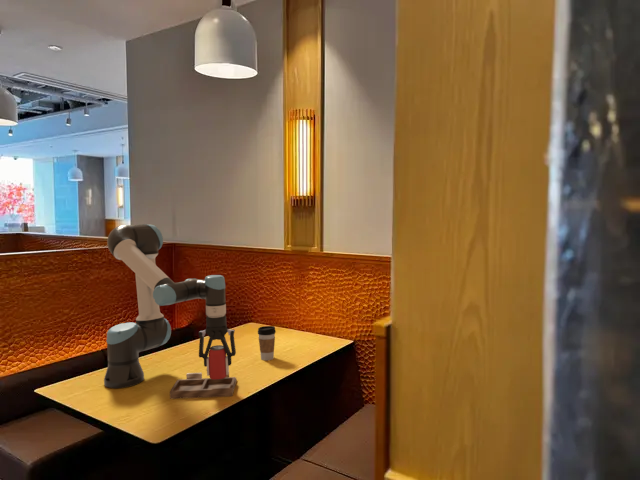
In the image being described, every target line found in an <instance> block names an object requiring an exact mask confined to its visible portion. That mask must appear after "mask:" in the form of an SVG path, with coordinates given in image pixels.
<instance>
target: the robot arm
mask: <svg viewBox="0 0 640 480" xmlns="http://www.w3.org/2000/svg"><path fill="white" fill-rule="evenodd" d="M106 239H107V240H106V243H107V248H108V250H109V253H111V255H112V256H113V257H114V258H115V259H116V260H119V261H122V262H123V263H124V264H125V266H127V267H128V268H129V269H130V270H131V271H132V272H134V273H135V285H136V295H137V296H136V297H137V306H138V315H137V316H136V318H135V322H130V321H129V322H125V323H119V324H116V325H114V326H112V327H110V328H109V329H108V331H107V332H106V349H107V350H106V351H107V369H106V370H105V374H104V378H103V379H104V380H103V382H104V383H103V384H104V386H105V387H106V388H109V389H123V388H129V387H133V386H135V385H138V384H140V383H142V382H143V381H144V380H145V373H144V370H143V368H142V366H141V364H140V358H139V356H140V355H139V353H141V352H144V351H148V350H151V349H155V348H159V347H160V346H163V345H165V344H166V343H168V341H169V340H170V338H171V334H172V327H171V324H170V322H169V320H167V318H165V315H164V314H163V313H161V310H160V307H161V306H162V307H163V306H170V305H174V304H177V303H182V302H187V301H191V300H192V301H193V300H196V299H201V300H205V315H206V317H205V318H206V319H205V320H206V322H205V323H206V324H205V325H206V328H205V329H204V330H200V331H198V338H199V344H198V345H199V346H198V357H199V358H202V359H203V366H204V367H206V376H208V377H209V351H210V347H212V343H213V341H216V340H218V341H219V340H220V342H221V344H222V346H223V347H224V349H225V352H226V375H228V374H229V375H230V366H232V357H235V356H236V354H237V351H236V350H237V349H236V344H235V343H236V342H235V329H230V328H228V326H227V316H226V314H227V304H226V281H225V277H224V275H221V274H211V275H207V276H205V277H204V279H198V278H195V277H194V278H187V279H185V280H184V281H179V282H174V281H173V280H172V279H171V278H170V277H169V276H168V275H167V274H166V273H165V272H164V271H163V270H162V269H161V268H160V267H158V266H157V264H156V257H157V256H158V255H159V250H160V249H161V248H162V246H163V244H164V237H163V234H162V232H161V230H160V229H159V228H158V226H156V225H154V224H150V223H149V224H145V223H144V224H121V225H119V226H115V228H113V229H112V230H111V231H110V232H109V234H108V236H107V238H106ZM227 333H228V336H229V340H230V347H229V345H228V342H227V339H226V335H227ZM206 334H207V336H208V337H209V338H208V342H207V345H206V348H205V351H204V343H205V336H206ZM230 348H231V349H230Z"/></svg>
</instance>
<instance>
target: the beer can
mask: <svg viewBox="0 0 640 480" xmlns="http://www.w3.org/2000/svg"><path fill="white" fill-rule="evenodd" d="M226 356H227V354H226V352H225V349H224V347H223V344H222V345H221V344H219V345H218V344H217V345H216V344H215V345H211V347H210V350H209V353H208V357H209V376H208V377H209V378H210V379H212V380H221V379H224V378H225V377H226V376H227V375H226Z"/></svg>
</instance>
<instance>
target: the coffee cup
mask: <svg viewBox="0 0 640 480" xmlns="http://www.w3.org/2000/svg"><path fill="white" fill-rule="evenodd" d="M276 333H277V331H276V327H275V326H274V325H266V326H261V327H258V329H257V334H258V344H259V351H260V360H262V361H271V360H273V359H274V358H275V355H274V354H275V341H276V337H275V336H276V335H275V334H276Z"/></svg>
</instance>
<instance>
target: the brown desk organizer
mask: <svg viewBox="0 0 640 480" xmlns="http://www.w3.org/2000/svg"><path fill="white" fill-rule="evenodd" d="M237 380H238V379H237V377H236V376H231V377H230V373H229V374H228V375H227V376H226V377H225V378H224V379H221V380H212V379H210V377H209V378H208V377H207V378H203V373H202V372H187V373H186V378H184V379H183V378H181V379H176V381H175V383H174V384H173V386H172V387H171V389H170V390H169V400H172V399H173V400H175V399H195V398H201V399H202V398H217V397H219V398H221V397H233V394H234V391H235V388H236V384H237Z"/></svg>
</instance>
